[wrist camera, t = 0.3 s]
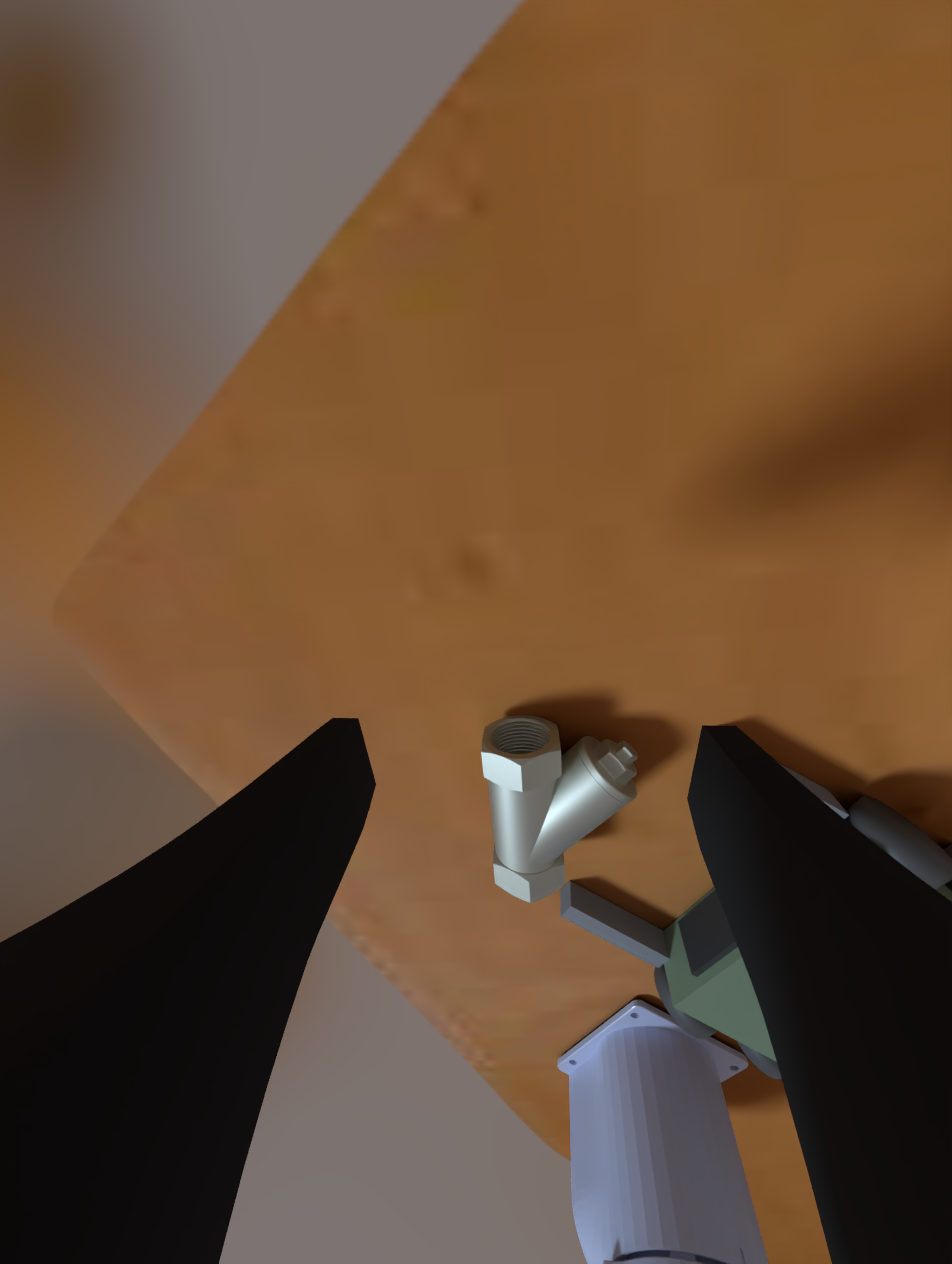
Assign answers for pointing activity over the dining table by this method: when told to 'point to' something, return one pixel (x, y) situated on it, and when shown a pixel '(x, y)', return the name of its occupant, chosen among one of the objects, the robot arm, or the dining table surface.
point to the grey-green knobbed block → (705, 946)
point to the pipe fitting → (548, 798)
